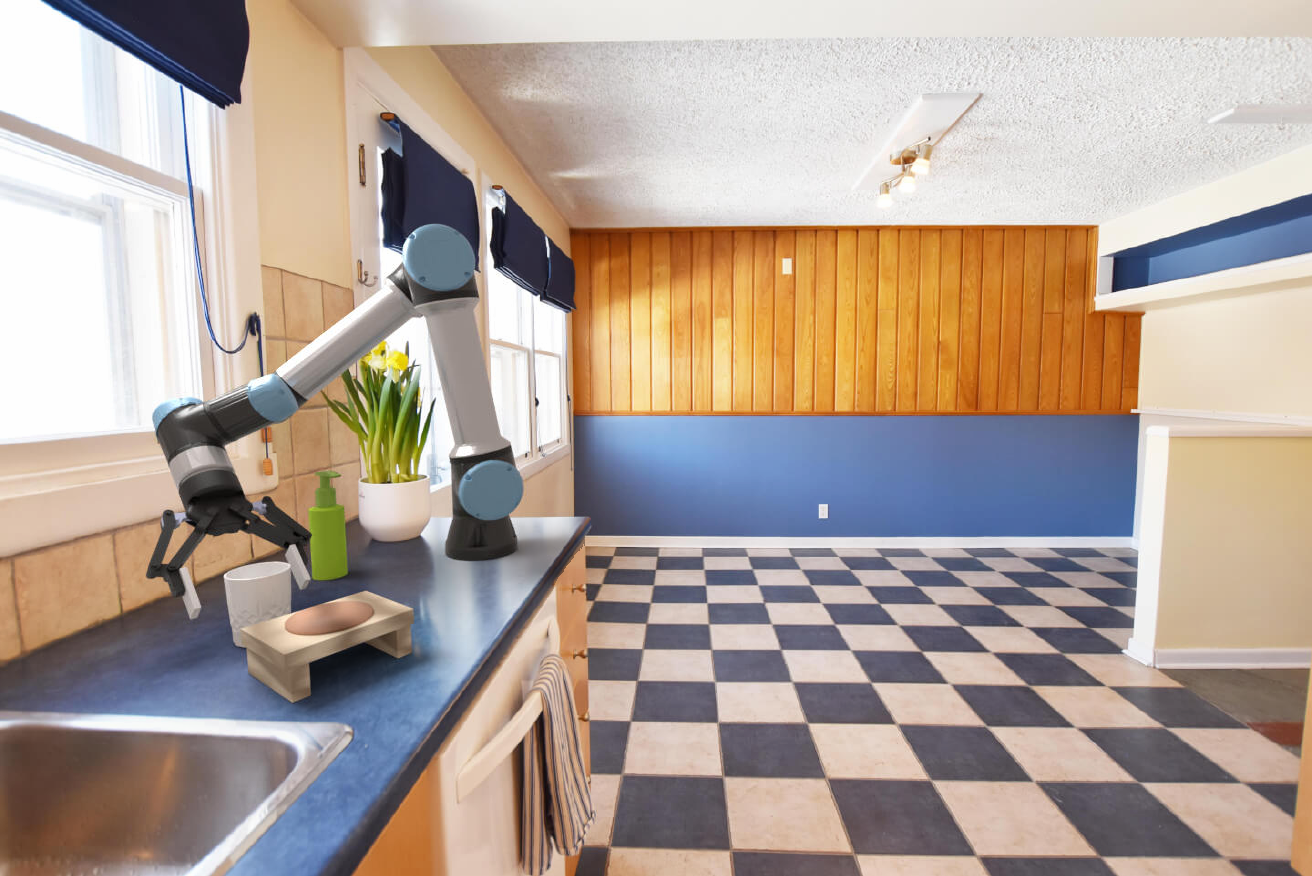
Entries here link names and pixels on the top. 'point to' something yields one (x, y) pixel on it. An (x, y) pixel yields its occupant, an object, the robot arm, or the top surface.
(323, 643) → the birch shelf
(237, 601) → the white cup
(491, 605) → the top surface
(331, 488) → the soap dispenser
